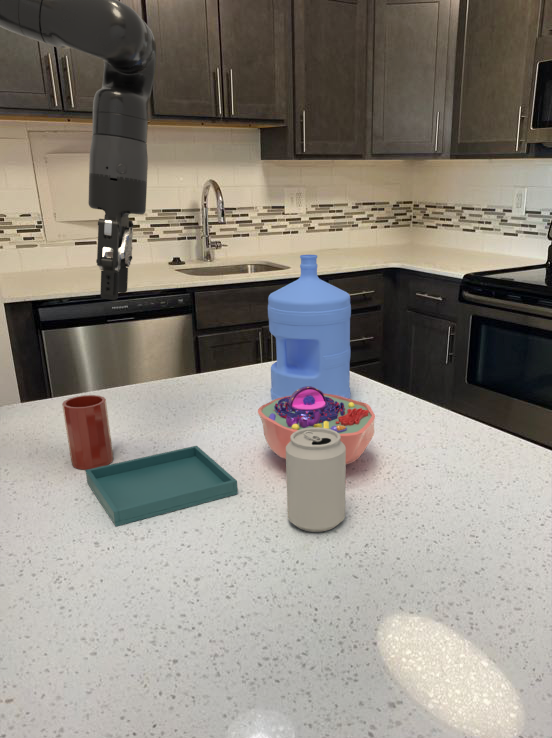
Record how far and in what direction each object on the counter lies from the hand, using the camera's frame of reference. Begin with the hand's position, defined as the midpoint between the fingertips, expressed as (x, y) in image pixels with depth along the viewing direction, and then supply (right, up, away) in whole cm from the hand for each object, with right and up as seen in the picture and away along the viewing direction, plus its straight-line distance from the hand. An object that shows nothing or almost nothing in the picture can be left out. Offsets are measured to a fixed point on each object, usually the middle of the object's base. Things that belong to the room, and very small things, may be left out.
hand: (114, 295), depth 94 cm
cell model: (+29, -24, +9) cm, 39 cm away
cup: (-6, -24, +10) cm, 27 cm away
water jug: (+27, -14, +37) cm, 48 cm away
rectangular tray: (+6, -27, +1) cm, 28 cm away
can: (+29, -31, -8) cm, 43 cm away
